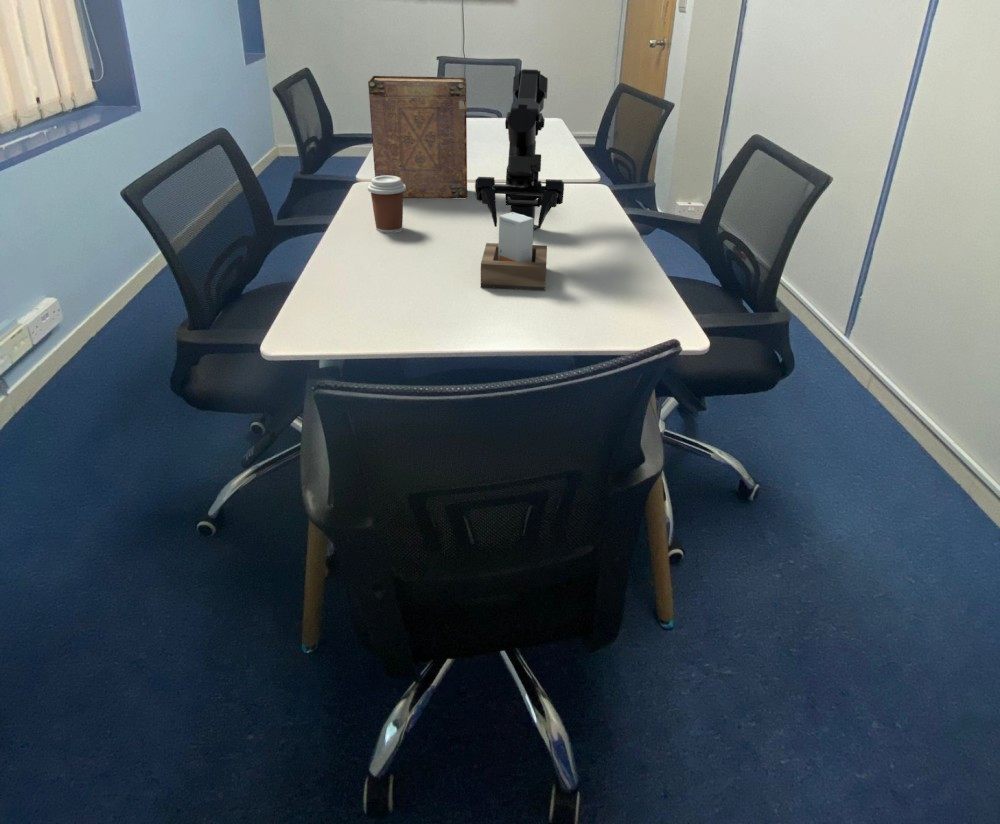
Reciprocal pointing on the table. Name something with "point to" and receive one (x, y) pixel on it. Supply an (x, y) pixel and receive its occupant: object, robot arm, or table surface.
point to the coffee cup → (387, 202)
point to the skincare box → (515, 238)
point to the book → (420, 133)
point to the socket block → (513, 270)
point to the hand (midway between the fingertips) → (517, 226)
